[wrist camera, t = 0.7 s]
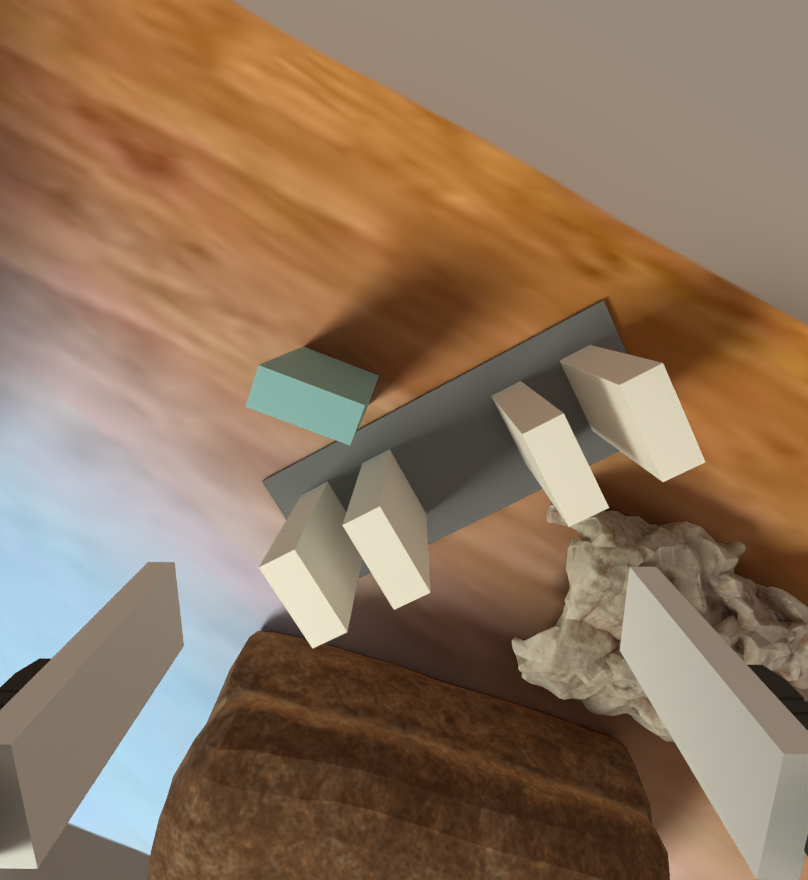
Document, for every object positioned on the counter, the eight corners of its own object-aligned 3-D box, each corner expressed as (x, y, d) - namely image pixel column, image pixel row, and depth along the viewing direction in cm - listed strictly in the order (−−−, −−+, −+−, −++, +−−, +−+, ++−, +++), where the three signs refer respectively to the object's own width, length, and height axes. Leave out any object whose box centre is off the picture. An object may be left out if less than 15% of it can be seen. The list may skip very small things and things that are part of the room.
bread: (549, 893, 44) (604, 1132, 32) (188, 786, 42) (91, 995, 30) (641, 730, 40) (746, 929, 28) (246, 603, 38) (162, 754, 26)
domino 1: (339, 556, 37) (312, 648, 27) (301, 495, 36) (258, 567, 26) (365, 543, 36) (347, 631, 27) (327, 481, 35) (294, 549, 26)
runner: (332, 588, 38) (331, 591, 37) (263, 479, 36) (262, 481, 35) (658, 428, 34) (661, 430, 34) (601, 300, 33) (603, 300, 32)
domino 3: (525, 464, 35) (568, 526, 25) (491, 396, 34) (522, 434, 24) (554, 449, 34) (609, 507, 25) (520, 380, 33) (563, 413, 24)
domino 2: (399, 526, 36) (394, 609, 26) (362, 463, 35) (342, 525, 25) (426, 513, 36) (430, 592, 26) (389, 449, 35) (379, 506, 25)
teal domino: (368, 404, 34) (350, 445, 25) (293, 376, 34) (245, 406, 24) (379, 375, 34) (365, 405, 24) (303, 346, 34) (258, 365, 24)
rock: (997, 667, 31) (841, 851, 34) (854, 577, 39) (741, 732, 43) (637, 530, 26) (500, 762, 30) (565, 462, 35) (466, 648, 38)
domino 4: (592, 430, 34) (663, 482, 24) (559, 360, 33) (619, 385, 23) (622, 416, 34) (705, 461, 24) (589, 344, 33) (663, 363, 23)
